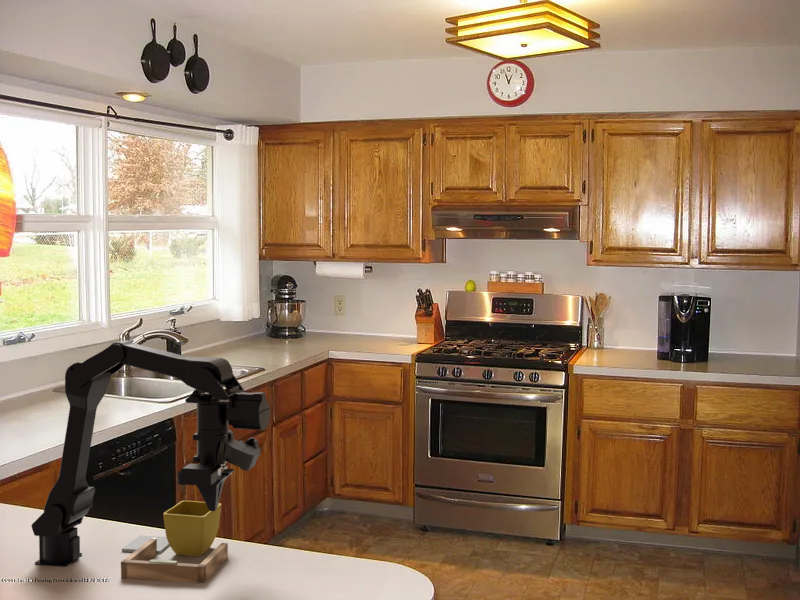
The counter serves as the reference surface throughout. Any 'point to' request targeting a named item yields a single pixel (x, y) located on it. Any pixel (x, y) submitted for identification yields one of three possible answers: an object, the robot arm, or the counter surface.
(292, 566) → the counter surface
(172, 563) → the wooden tray frame
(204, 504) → the flower pot
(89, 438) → the robot arm
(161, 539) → the tile
